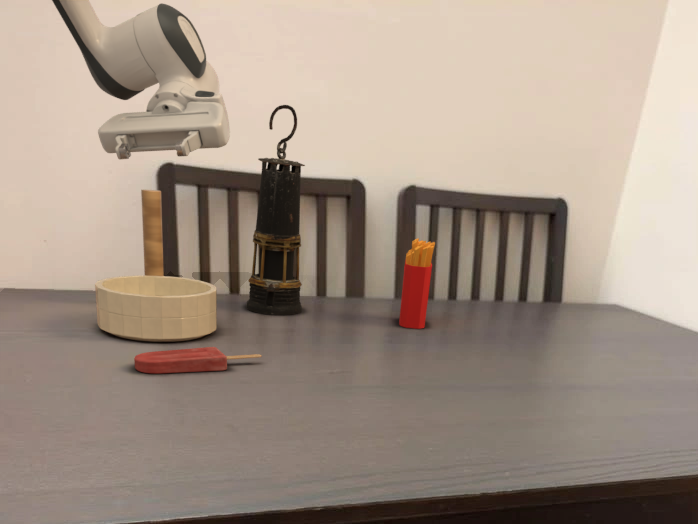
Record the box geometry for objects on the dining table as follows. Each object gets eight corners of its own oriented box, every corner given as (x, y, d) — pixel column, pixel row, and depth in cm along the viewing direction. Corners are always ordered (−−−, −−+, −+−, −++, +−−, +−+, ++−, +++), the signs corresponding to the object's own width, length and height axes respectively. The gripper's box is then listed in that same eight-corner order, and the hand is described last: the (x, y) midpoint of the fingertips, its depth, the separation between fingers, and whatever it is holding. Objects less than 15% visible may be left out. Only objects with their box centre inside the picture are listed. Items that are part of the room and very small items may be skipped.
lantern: (268, 316, 113) (274, 101, 101) (234, 305, 119) (236, 100, 107) (312, 312, 119) (323, 107, 107) (278, 301, 125) (285, 106, 113)
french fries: (398, 317, 121) (407, 235, 116) (424, 319, 121) (433, 238, 116) (398, 328, 113) (407, 241, 108) (426, 331, 113) (436, 244, 108)
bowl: (78, 323, 100) (74, 278, 98) (177, 313, 110) (177, 273, 108) (135, 349, 90) (133, 300, 88) (238, 336, 100) (239, 292, 98)
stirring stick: (135, 305, 113) (129, 188, 106) (160, 303, 116) (156, 189, 109) (149, 311, 110) (145, 191, 103) (175, 309, 113) (172, 192, 106)
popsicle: (267, 353, 86) (138, 361, 80) (267, 367, 87) (139, 377, 81) (255, 343, 90) (130, 351, 83) (255, 357, 91) (131, 365, 84)
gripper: (109, 99, 118) (78, 135, 109) (231, 92, 115) (209, 127, 106) (122, 139, 123) (93, 176, 113) (239, 133, 120) (220, 170, 110)
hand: (150, 153), depth 110 cm, fingers open, 8 cm apart
